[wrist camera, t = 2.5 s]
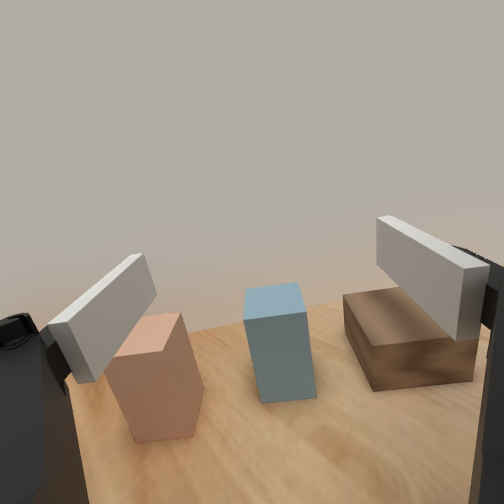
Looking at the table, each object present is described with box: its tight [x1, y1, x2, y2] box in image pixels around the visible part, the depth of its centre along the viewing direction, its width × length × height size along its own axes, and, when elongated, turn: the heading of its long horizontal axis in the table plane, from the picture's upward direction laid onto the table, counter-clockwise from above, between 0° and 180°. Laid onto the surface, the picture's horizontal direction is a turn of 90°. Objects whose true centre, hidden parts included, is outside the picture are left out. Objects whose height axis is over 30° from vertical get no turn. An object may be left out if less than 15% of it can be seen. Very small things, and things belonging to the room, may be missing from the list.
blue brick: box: [243, 282, 316, 404], centre depth 30 cm, size 6×6×11 cm
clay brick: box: [103, 312, 204, 443], centre depth 28 cm, size 6×6×11 cm
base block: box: [343, 287, 480, 391], centre depth 32 cm, size 10×10×6 cm
